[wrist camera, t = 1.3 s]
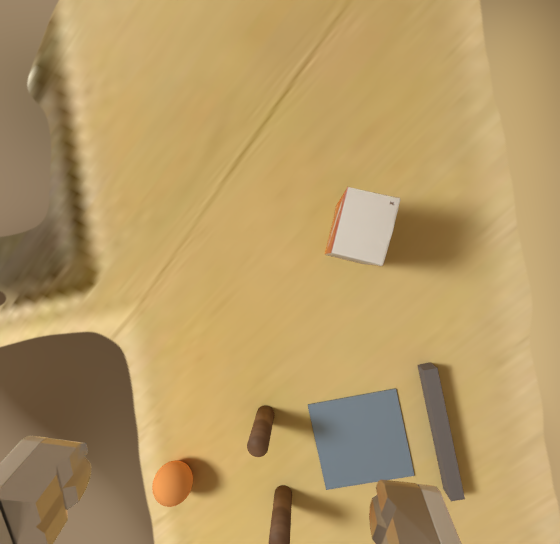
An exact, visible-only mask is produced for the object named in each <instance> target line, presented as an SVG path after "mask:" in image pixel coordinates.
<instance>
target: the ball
mask: <svg viewBox="0 0 560 544" xmlns="http://www.w3.org/2000/svg"><path fill="white" fill-rule="evenodd" d="M192 485H193V474H192V471H191V469H190V467H189V466H188V465H187V464H186V463H184V462H182V461H171V462H168V463H166V464H165V465H163V466H162V467H161V468H160V469H159V470H158V472H157V473H156V475H155V478H154V481H153V494H154V497H155V499H156V500H157V502H158V503H160V504H161V505H163V506H167V507H172V506H176V505H178V504H180V503H181V502H183V501H184V500H185V499H186V498H187V496H188V495H189V493H190V491H191V488H192Z"/></svg>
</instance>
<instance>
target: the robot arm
mask: <svg viewBox="0 0 560 544" xmlns="http://www.w3.org/2000/svg"><path fill="white" fill-rule="evenodd" d="M87 453H88V448H87V445H86V443H81V442H74V441H66V440H59V439H51V438H47V437H39V436H30V435H29V436H27V437H26V438H24V439H23V440H21V441H20V442H19V443H18V445H17V446H15V448H14V449H13V450H12V451H11V452H10V453H9V454H8V455H7V456H6V457H5V458H4V459H3V461H2V462H1V463H0V544H53V543H54V541H55V540H56V538H57V536H58V535H59V533H60V532H61V530H62V528H63V527H64V525H65V523H66V522H67V519H68V515H67V510H68V509H69V508H71V507H72V506H73V505H75V504H76V503H77V502H78V501H79V500H80V499H81V497H82V495H83V494H84V492H85V490H86V488H87V485H88V482H89V479H90V475H91V464H90V462H89V461H88V460H87V459H86V458H85V456H86V454H87ZM376 491H377V495H376V496H375V497H373V498H372V501H371V504H370V513H369V520H370V529H371V535H372V539H373V541H374V542H375V543H376V544H461V541H460V539H459V536H458V534H457V532H456V529H455V527H454V524H453V522H452V519H451V517H450V515H449V512H448V510H447V507H446V505H445V502H444V500H443V497H442V495H441V493H440V491H439V489H438V488H437V487H435V486H431V485H421V484H416V483H409V482H399V481H390V480H379V481H378V483H377V486H376Z"/></svg>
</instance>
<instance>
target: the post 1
mask: <svg viewBox="0 0 560 544" xmlns="http://www.w3.org/2000/svg"><path fill="white" fill-rule="evenodd" d="M273 419H274V411H273V409H272V408H271V407H269V406H261V407H260V408H259V409H258V411H257V414H256V417H255V421H254V424H253V427H252V431H251V434H250V437H249V441H248V444H247V449H248V451H249V453H250V454H251V455H253V456H255V457H261V456H264V455H265V454H266V453H267V451H268V446H269V441H270V435H271V430H272V424H273Z"/></svg>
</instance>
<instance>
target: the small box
mask: <svg viewBox="0 0 560 544" xmlns="http://www.w3.org/2000/svg"><path fill="white" fill-rule="evenodd" d="M399 203H400V198H397V197H392V196H387V195H382V194H377V193H373V192H368V191H364V190H359V189H355V188H350V187H347V189H346V191H345V192H344V194H343V196H342V197H341V199H340V200H339V202H338V203H337V205H336V210H335V214H334V219H333V223H332V227H331V231H330V235H329V239H328V243H327V247H326V251H325V255H328V256H332V257H336V258H341V259H345V260H349V261H353V262H357V263H361V264H369V265H379V266H383V264H384V261H385V257H386V254H387V250H388V247H389V243H390V239H391V236H392V233H393V229H394V225H395V219H396V215H397V211H398V207H399Z"/></svg>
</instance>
